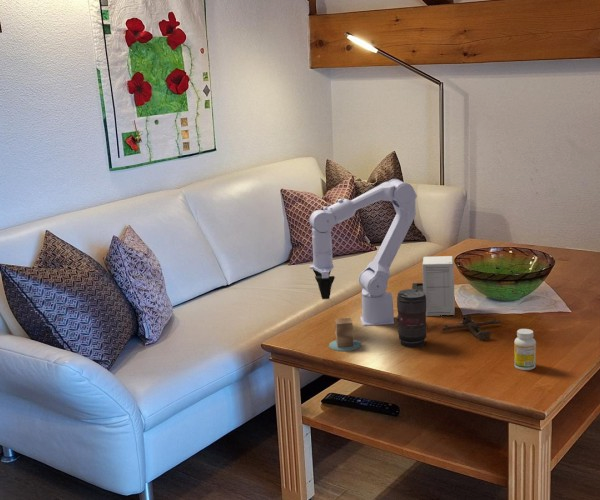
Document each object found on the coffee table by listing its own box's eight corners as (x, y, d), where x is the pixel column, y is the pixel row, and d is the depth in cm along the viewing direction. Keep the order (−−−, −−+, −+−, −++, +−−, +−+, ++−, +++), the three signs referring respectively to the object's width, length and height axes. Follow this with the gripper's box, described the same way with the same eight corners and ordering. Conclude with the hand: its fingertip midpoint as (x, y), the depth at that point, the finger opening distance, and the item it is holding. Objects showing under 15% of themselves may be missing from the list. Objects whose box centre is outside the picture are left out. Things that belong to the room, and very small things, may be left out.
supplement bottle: (530, 372, 208) (530, 336, 206) (510, 367, 212) (510, 332, 209) (539, 365, 212) (539, 330, 210) (519, 361, 216) (520, 326, 213)
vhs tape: (412, 288, 285) (412, 283, 284) (435, 288, 283) (435, 282, 283) (411, 301, 271) (411, 295, 271) (436, 301, 270) (436, 295, 269)
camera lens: (410, 351, 227) (409, 299, 223) (392, 343, 234) (390, 292, 230) (433, 344, 231) (432, 293, 227) (414, 336, 238) (413, 286, 234)
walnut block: (351, 341, 236) (350, 317, 234) (353, 346, 232) (352, 322, 230) (336, 342, 236) (335, 318, 234) (337, 347, 231) (336, 324, 230)
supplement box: (454, 306, 262) (453, 255, 257) (454, 316, 253) (454, 263, 249) (424, 306, 263) (422, 255, 259) (423, 316, 255) (421, 263, 250)
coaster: (358, 339, 238) (358, 337, 238) (362, 350, 230) (362, 348, 229) (327, 341, 238) (327, 339, 238) (330, 352, 229) (330, 351, 229)
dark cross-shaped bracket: (454, 335, 229) (436, 314, 243) (454, 349, 231) (435, 328, 244) (515, 327, 233) (493, 307, 246) (514, 341, 234) (493, 320, 247)
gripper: (307, 246, 250) (309, 289, 254) (310, 257, 236) (312, 303, 240) (330, 244, 251) (332, 287, 254) (335, 256, 237) (337, 301, 240)
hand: (324, 295), depth 247 cm, fingers open, 7 cm apart
